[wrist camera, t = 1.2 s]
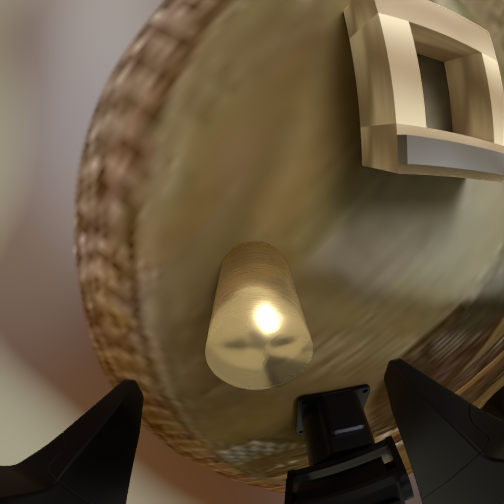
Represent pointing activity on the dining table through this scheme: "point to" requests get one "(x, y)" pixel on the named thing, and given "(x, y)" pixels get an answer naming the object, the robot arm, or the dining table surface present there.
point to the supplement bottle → (496, 405)
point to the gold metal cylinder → (257, 321)
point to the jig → (411, 93)
